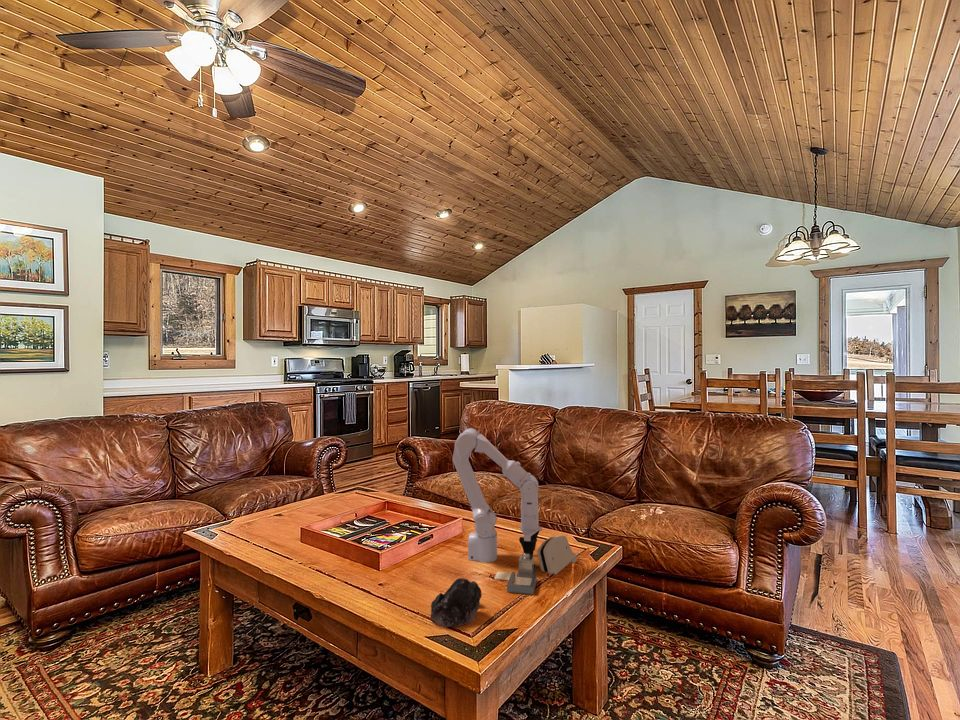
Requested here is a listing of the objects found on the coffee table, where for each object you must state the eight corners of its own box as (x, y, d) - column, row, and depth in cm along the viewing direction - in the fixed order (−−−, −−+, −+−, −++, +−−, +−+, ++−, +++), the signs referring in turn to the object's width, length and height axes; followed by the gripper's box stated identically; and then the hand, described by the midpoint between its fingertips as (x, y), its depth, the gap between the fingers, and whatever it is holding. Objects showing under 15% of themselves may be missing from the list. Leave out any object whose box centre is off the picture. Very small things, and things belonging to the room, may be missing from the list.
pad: (494, 581, 148) (494, 578, 148) (497, 574, 153) (497, 571, 153) (510, 583, 147) (510, 580, 147) (513, 576, 152) (513, 572, 152)
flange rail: (507, 595, 140) (507, 585, 140) (517, 567, 158) (516, 558, 158) (533, 598, 138) (533, 587, 138) (540, 569, 157) (540, 559, 157)
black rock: (419, 625, 127) (419, 589, 125) (443, 596, 139) (443, 563, 138) (466, 640, 121) (467, 602, 120) (487, 609, 134) (488, 575, 133)
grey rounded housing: (556, 578, 150) (546, 545, 152) (543, 580, 153) (533, 547, 155) (578, 559, 164) (568, 529, 166) (565, 561, 167) (556, 531, 168)
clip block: (519, 572, 151) (518, 555, 151) (520, 567, 155) (520, 550, 155) (532, 573, 150) (531, 556, 150) (533, 568, 154) (533, 551, 154)
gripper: (539, 522, 153) (540, 565, 154) (543, 507, 168) (544, 547, 168) (517, 520, 155) (517, 563, 155) (523, 506, 169) (523, 545, 169)
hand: (530, 555), depth 162 cm, fingers open, 7 cm apart
